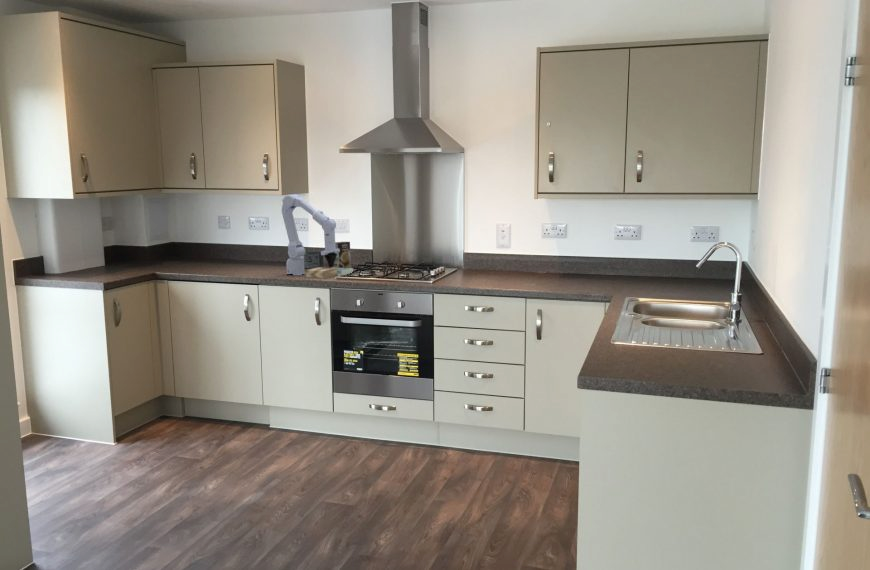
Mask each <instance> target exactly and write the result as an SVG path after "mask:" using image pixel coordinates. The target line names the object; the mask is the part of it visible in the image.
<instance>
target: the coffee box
mask: <svg viewBox="0 0 870 570" xmlns="http://www.w3.org/2000/svg"><path fill="white" fill-rule="evenodd" d="M335 247H336V249H340V252H337V253H336V254H337V256H336V258H335V261H334V266H333V267H332V268H352V261H351V242H350V241H337V242H336V241H335Z"/></svg>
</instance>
